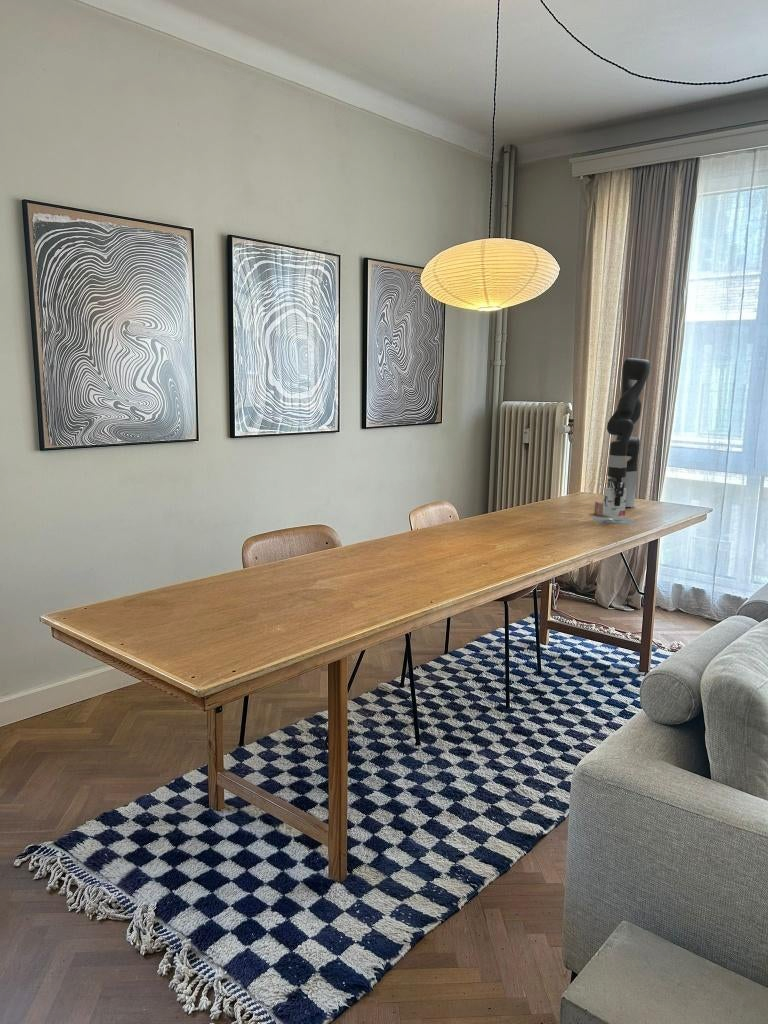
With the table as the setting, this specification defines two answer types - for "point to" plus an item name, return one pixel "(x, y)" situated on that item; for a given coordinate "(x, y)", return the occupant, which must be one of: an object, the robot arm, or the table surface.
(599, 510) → the painted cube
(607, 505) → the ink box
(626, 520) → the letter card
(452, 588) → the table surface
